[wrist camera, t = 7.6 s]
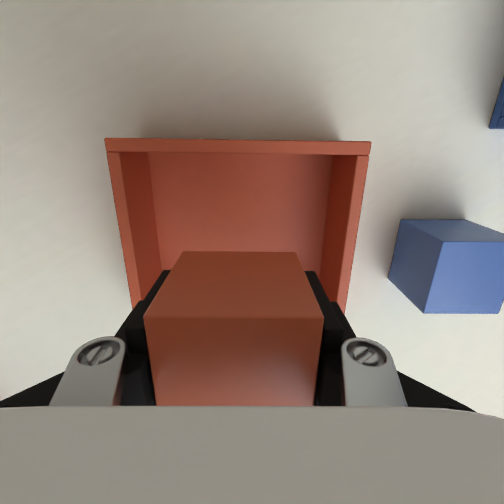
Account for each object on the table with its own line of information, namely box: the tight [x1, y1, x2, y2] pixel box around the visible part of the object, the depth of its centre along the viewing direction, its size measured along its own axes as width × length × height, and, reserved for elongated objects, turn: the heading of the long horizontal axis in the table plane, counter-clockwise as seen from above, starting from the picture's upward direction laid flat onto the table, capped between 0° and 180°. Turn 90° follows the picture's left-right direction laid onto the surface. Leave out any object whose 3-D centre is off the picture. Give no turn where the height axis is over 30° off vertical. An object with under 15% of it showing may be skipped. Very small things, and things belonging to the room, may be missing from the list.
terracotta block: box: [143, 251, 324, 406], centre depth 10 cm, size 4×4×4 cm
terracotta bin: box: [104, 138, 371, 314], centre depth 17 cm, size 12×12×5 cm
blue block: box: [388, 219, 504, 314], centre depth 18 cm, size 4×4×4 cm
